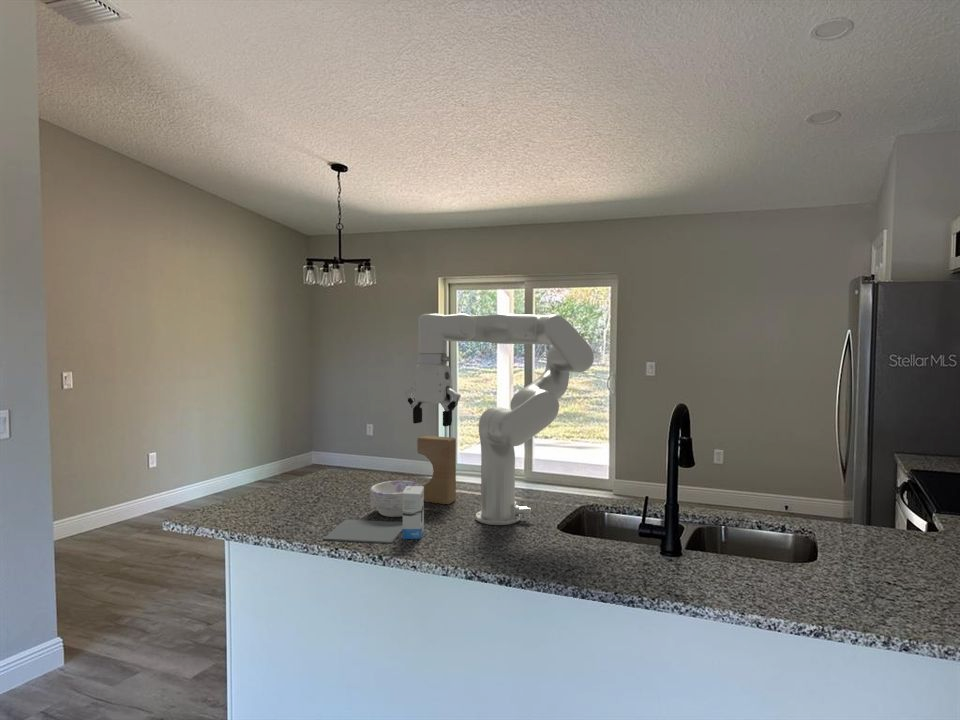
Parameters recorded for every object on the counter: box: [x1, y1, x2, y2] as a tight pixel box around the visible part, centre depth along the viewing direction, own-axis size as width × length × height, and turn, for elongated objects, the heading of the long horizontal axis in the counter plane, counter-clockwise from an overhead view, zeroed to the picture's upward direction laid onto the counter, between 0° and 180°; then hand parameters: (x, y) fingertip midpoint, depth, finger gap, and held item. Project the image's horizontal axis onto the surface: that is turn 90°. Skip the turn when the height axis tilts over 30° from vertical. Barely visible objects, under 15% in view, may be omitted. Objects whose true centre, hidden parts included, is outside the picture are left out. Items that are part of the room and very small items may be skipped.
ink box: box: [402, 486, 425, 540], centre depth 160 cm, size 8×5×12 cm, turn 179°
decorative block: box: [416, 435, 457, 505], centre depth 191 cm, size 11×6×20 cm, turn 65°
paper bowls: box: [369, 480, 422, 518], centre depth 179 cm, size 15×15×8 cm
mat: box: [322, 519, 403, 544], centre depth 162 cm, size 18×16×1 cm
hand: (432, 424), depth 163 cm, fingers open, 9 cm apart
